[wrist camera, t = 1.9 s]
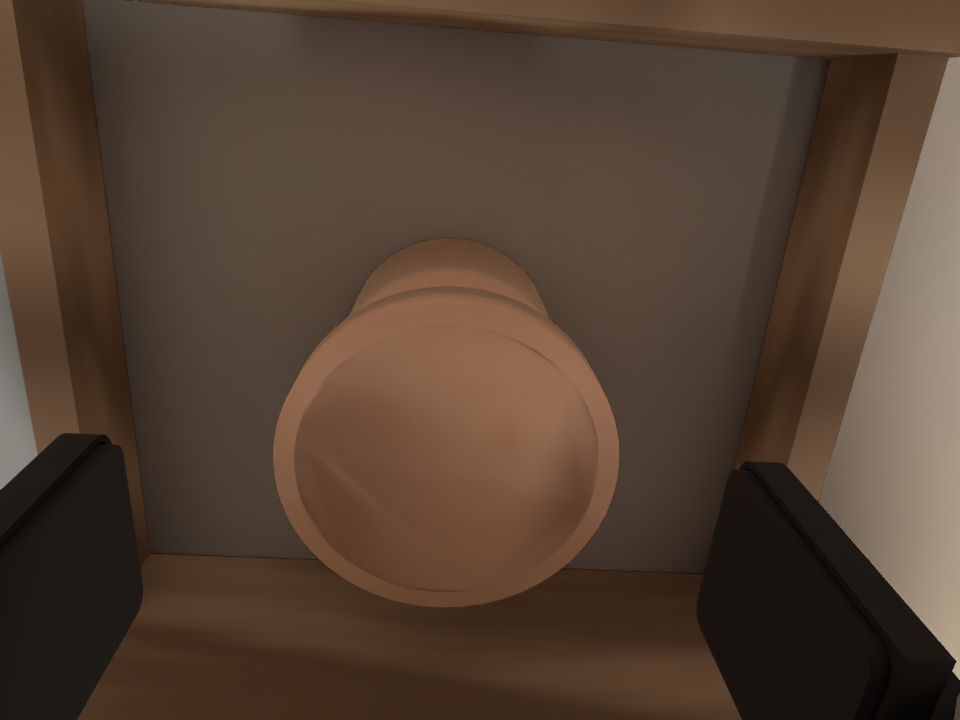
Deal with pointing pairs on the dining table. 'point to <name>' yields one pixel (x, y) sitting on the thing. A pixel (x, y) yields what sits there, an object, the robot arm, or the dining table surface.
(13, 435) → the slate mat
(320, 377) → the terracotta pot
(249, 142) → the dining table surface
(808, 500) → the robot arm
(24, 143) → the box
